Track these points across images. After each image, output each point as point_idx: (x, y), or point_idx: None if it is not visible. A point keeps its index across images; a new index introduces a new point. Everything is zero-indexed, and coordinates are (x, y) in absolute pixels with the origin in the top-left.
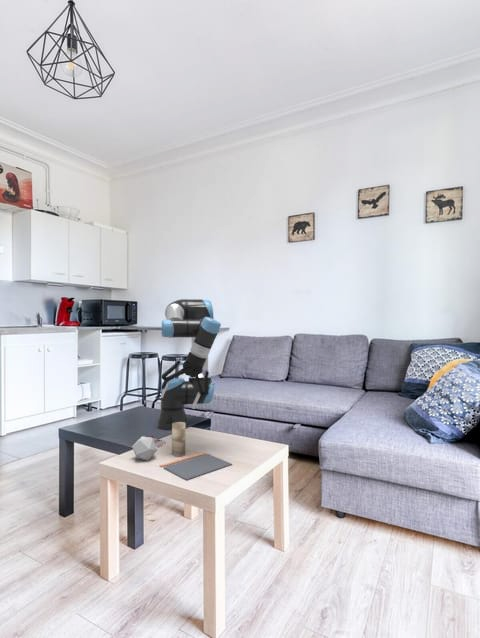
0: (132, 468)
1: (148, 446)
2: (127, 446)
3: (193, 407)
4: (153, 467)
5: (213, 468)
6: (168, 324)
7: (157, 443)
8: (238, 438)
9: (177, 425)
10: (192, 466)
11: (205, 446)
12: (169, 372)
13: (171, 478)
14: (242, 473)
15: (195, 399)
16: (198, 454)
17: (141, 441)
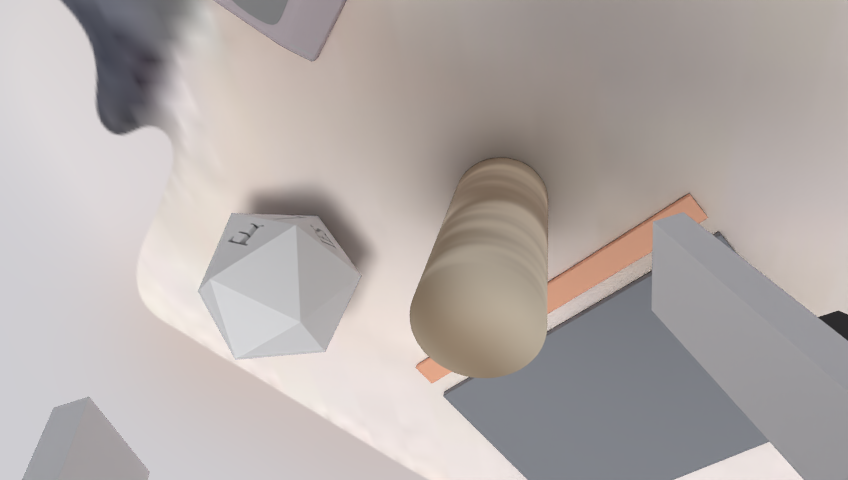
0: (293, 371)
1: (308, 349)
2: (99, 17)
3: (672, 321)
4: (390, 373)
5: (718, 446)
6: None
7: (301, 14)
8: None
9: (472, 376)
10: (598, 407)
11: (725, 27)
12: None
13: None
14: None
15: (753, 351)
16: (645, 233)
17: (249, 357)
